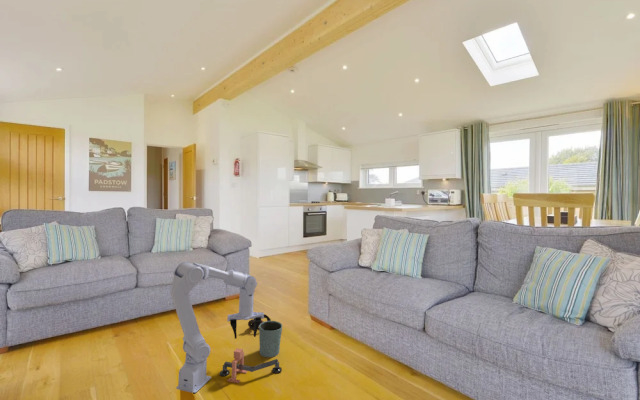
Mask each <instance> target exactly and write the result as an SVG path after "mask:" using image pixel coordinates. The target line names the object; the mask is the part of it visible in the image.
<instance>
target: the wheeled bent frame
mask: <svg viewBox="0 0 640 400" xmlns="http://www.w3.org/2000/svg"><path fill="white" fill-rule="evenodd" d="M271 366H274V367H272V369H271V370H272V373H273V374H280V373H281V372H282V367H280V361H279V359H277V358H275V359H272V360H268V361H266V362H262V363H260V364H256V365H254V366H253V365H252V366H251V365H246V364H244V365H241V364H239V363H237V365H236V370H237V369H240V370H245V371H247V372H250V373H253V372H256V371H259V370H262V369H265V368H268V367H271ZM228 368H231V369H232V361H231V362H230V361H225V362H224V363H223V365H222V370H220V371H219V376H220V377H228V376H230V370H229V369H228Z"/></svg>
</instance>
